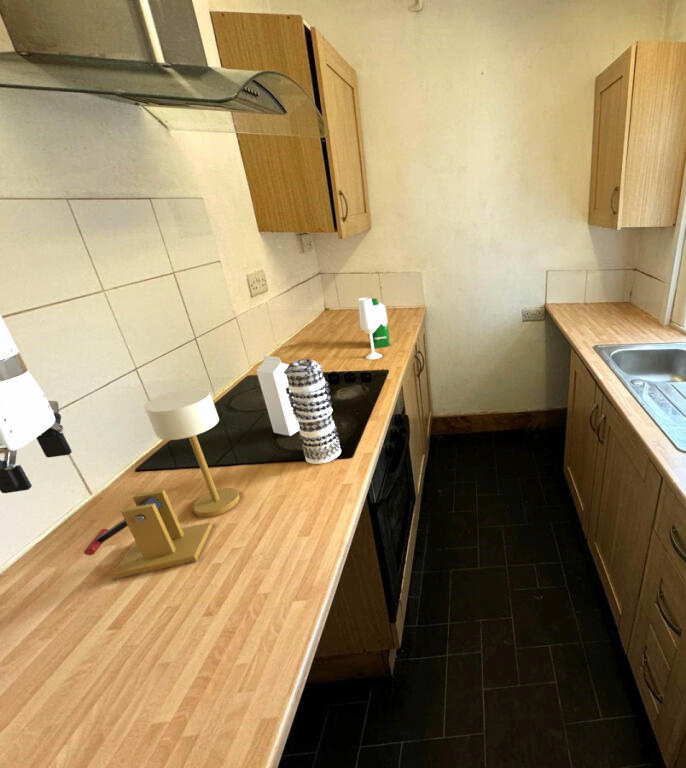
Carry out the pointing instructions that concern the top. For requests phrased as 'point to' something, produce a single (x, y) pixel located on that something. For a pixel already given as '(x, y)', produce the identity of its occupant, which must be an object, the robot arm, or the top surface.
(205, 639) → the top surface
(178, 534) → the switch bracket
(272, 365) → the milk
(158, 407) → the table lamp
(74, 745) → the top surface
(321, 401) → the decorative candle
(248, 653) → the top surface
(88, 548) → the switch lever
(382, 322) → the milk carton
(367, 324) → the champagne flute
